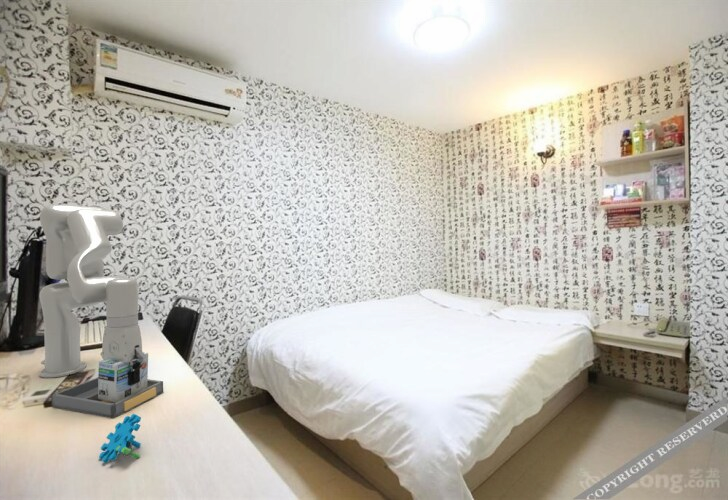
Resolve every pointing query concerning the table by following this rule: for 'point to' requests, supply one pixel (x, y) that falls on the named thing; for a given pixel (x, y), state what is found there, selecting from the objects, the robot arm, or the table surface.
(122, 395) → the light bulb box
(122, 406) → the bay tray
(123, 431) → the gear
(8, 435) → the table surface
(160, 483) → the table surface
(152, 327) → the table surface
